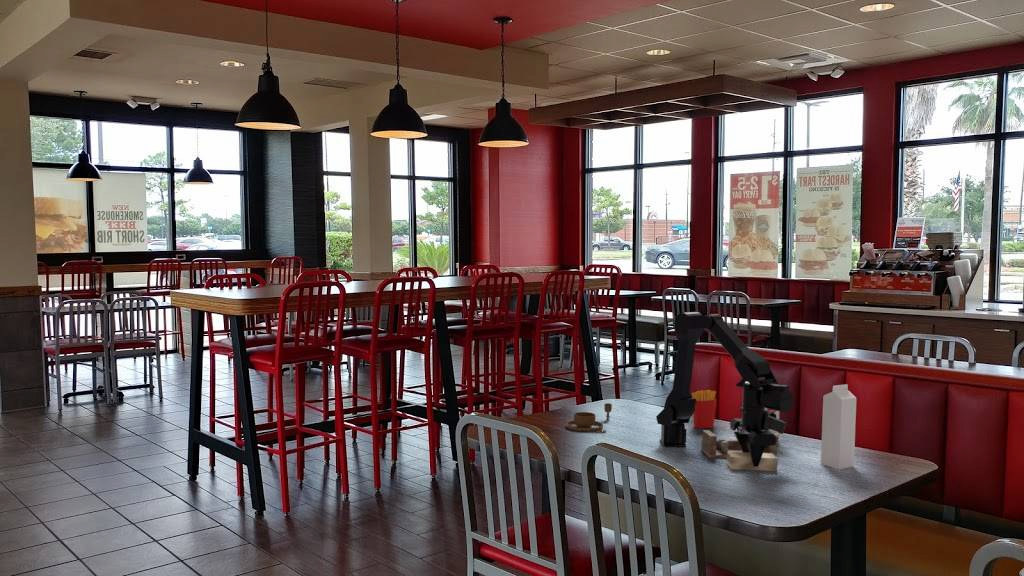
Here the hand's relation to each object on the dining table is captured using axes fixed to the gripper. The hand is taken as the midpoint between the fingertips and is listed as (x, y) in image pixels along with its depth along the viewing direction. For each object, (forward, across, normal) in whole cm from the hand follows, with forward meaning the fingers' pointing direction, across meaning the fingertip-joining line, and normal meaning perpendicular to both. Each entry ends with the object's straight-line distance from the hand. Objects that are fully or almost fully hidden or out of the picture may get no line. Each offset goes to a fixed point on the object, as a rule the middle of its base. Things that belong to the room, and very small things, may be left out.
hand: (751, 463), depth 213 cm
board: (+1, 0, 0) cm, 1 cm away
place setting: (+2, +46, +34) cm, 58 cm away
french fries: (+1, +46, -1) cm, 46 cm away
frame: (+1, +13, -1) cm, 13 cm away
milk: (+1, +1, -24) cm, 24 cm away
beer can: (+1, +27, -15) cm, 31 cm away
